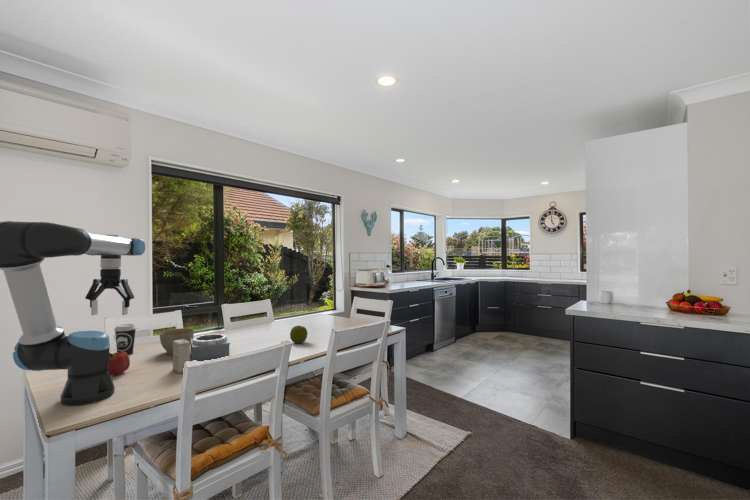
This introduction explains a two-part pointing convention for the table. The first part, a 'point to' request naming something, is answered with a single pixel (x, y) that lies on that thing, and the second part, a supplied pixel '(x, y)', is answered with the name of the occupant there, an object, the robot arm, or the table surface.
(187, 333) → the planter bowl
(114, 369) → the vegetable
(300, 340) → the olive green ball
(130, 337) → the coffee cup
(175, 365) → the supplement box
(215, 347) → the housing
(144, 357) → the table surface
